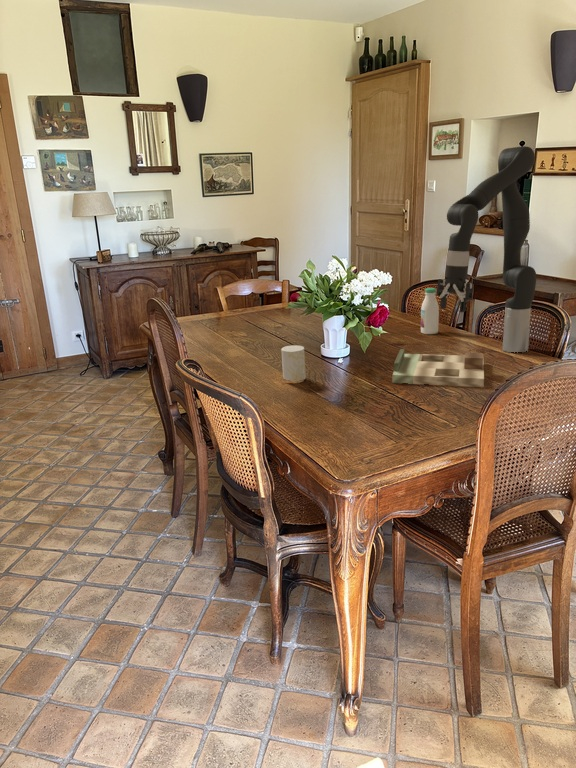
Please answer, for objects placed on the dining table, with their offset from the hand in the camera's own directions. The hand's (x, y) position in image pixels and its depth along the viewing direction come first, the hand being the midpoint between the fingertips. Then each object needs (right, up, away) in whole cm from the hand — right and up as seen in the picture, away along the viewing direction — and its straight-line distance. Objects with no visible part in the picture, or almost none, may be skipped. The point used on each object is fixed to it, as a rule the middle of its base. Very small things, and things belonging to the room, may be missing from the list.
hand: (452, 310), depth 206 cm
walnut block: (+7, -20, -3) cm, 21 cm away
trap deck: (-4, -22, +2) cm, 23 cm away
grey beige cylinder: (-56, -25, +3) cm, 62 cm away
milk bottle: (+5, -3, +56) cm, 57 cm away
